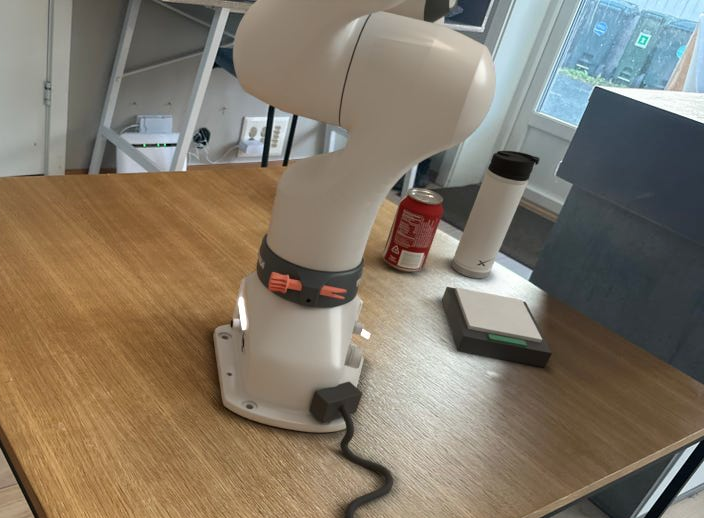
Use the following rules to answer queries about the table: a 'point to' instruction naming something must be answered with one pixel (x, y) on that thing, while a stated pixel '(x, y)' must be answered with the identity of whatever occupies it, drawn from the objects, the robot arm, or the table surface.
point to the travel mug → (493, 212)
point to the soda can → (413, 230)
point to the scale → (494, 327)
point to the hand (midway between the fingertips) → (373, 145)
